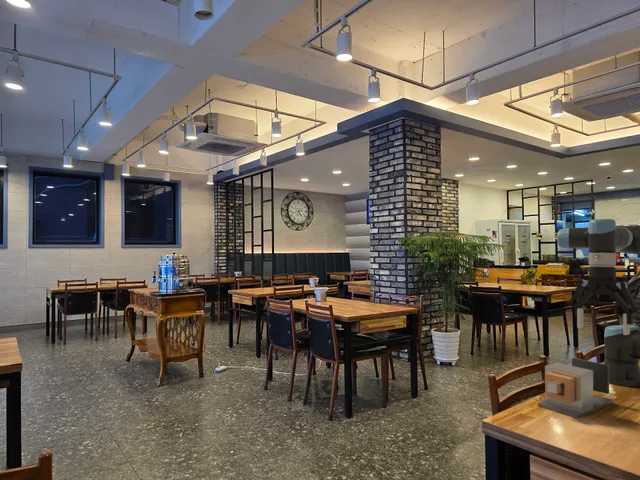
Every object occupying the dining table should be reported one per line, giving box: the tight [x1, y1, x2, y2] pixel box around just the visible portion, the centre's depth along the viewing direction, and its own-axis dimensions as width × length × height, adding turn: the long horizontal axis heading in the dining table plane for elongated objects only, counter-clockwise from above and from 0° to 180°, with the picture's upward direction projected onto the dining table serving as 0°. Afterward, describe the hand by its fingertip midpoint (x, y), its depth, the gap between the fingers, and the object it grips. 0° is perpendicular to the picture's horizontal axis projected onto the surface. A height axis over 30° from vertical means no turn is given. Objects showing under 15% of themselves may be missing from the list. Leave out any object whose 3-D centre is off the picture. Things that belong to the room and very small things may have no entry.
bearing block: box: [537, 362, 614, 419], centre depth 149 cm, size 26×13×13 cm, turn 124°
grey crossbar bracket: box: [547, 357, 610, 395], centre depth 148 cm, size 27×12×10 cm, turn 124°
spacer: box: [546, 372, 575, 404], centre depth 143 cm, size 3×8×8 cm, turn 34°
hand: (602, 331), depth 139 cm, fingers open, 13 cm apart
